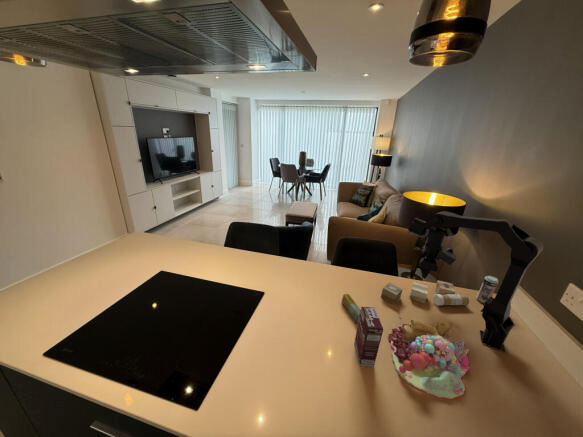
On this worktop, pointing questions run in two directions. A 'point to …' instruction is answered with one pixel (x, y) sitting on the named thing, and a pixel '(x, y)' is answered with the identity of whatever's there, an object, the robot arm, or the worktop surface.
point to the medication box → (351, 307)
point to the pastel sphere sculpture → (429, 358)
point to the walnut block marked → (391, 293)
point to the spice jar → (487, 288)
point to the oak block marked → (444, 288)
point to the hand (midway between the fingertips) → (424, 274)
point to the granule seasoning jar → (450, 299)
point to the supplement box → (368, 336)
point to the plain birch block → (419, 292)
